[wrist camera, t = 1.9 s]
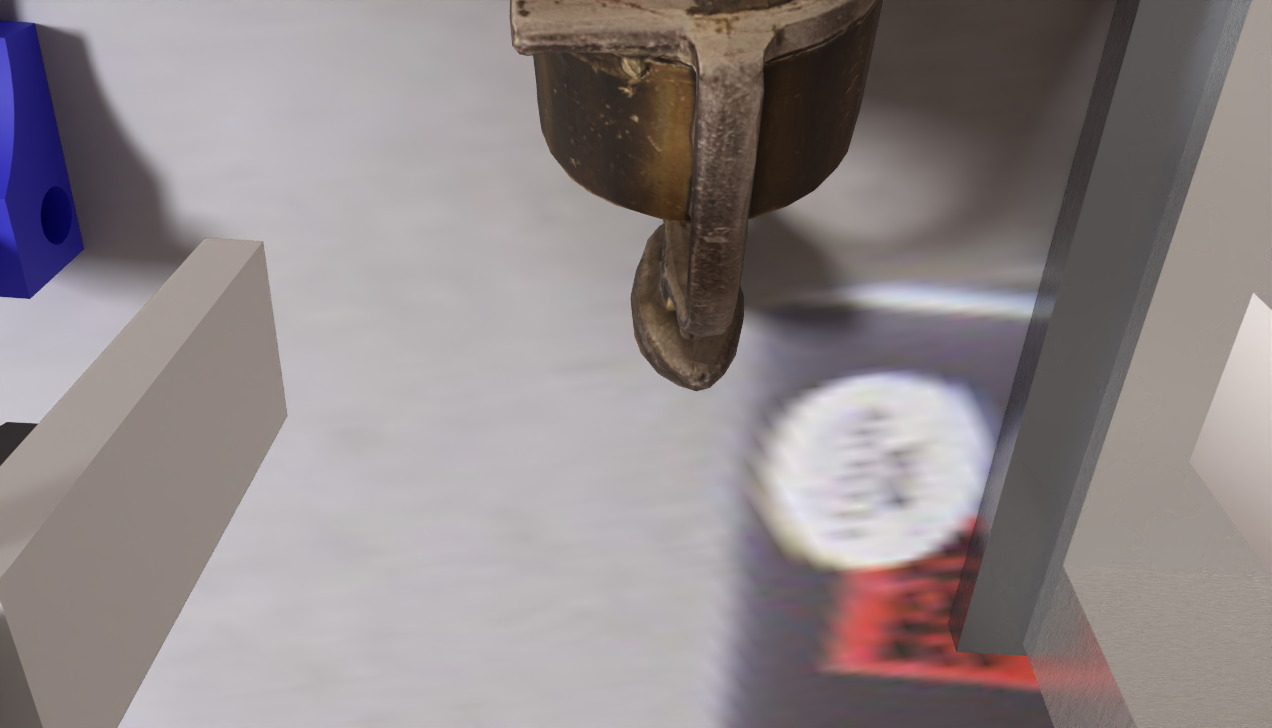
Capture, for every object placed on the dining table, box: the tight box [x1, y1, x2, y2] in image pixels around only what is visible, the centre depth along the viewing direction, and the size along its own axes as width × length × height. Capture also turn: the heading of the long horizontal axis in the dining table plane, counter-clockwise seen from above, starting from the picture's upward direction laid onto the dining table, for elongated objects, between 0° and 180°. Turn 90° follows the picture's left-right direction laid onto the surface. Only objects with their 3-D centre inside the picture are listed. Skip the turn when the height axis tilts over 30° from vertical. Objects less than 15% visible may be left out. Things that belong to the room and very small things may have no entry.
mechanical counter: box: [510, 0, 883, 391], centre depth 22 cm, size 7×13×10 cm, turn 16°
